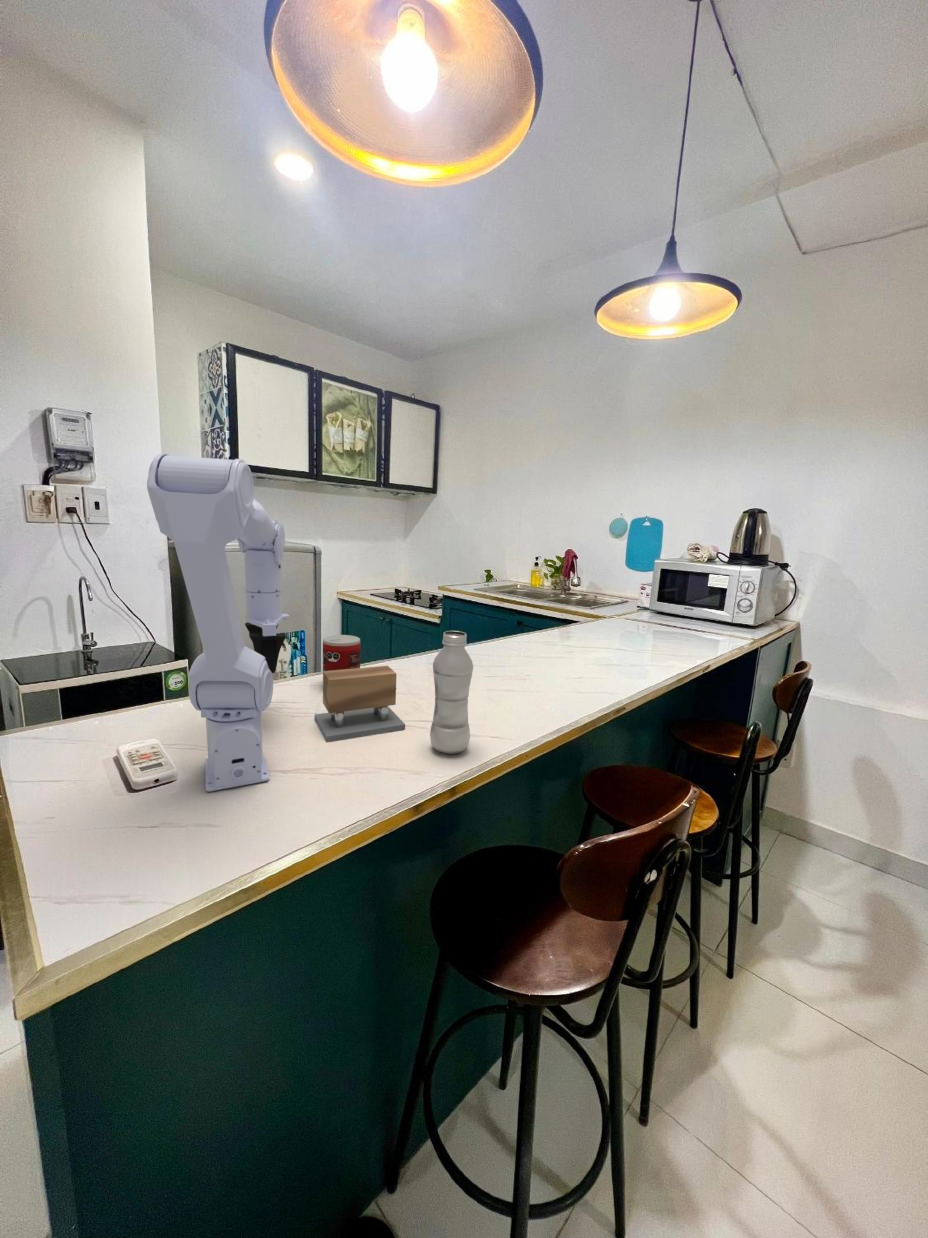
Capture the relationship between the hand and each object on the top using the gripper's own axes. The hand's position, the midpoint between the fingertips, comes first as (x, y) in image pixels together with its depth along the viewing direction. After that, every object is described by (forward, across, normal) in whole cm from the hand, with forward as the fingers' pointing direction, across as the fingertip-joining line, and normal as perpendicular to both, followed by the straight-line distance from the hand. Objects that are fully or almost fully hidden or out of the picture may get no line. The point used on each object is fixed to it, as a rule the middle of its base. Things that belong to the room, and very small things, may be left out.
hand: (265, 666), depth 86 cm
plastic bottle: (+11, -22, -26) cm, 36 cm away
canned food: (+11, +14, -17) cm, 24 cm away
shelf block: (+6, -7, -15) cm, 18 cm away
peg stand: (+10, -7, -15) cm, 20 cm away
